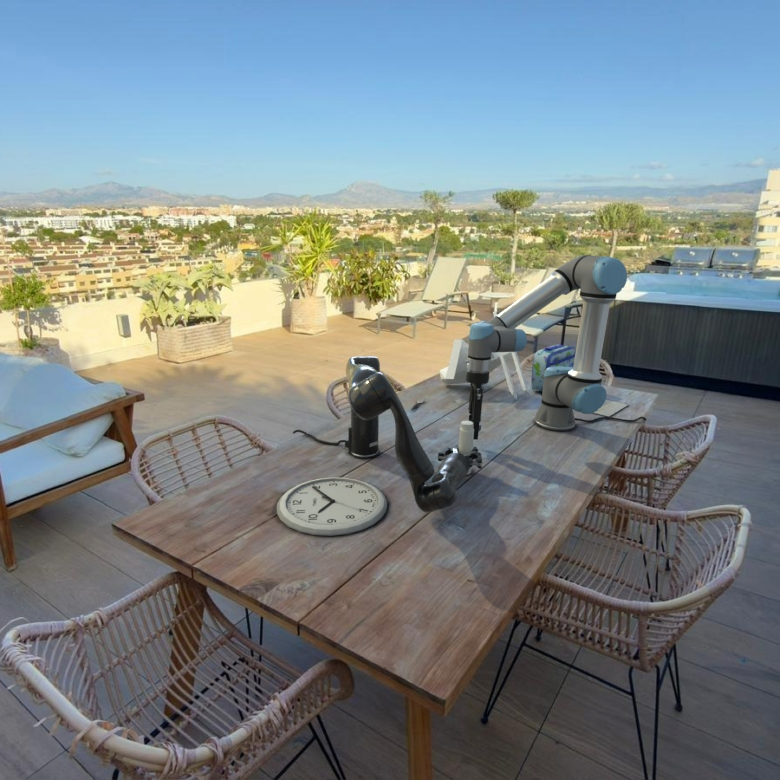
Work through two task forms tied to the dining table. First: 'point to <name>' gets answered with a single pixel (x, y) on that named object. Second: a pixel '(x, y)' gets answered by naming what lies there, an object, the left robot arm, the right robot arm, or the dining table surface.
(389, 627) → the dining table surface
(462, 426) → the off-white long cylinder
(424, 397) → the fork
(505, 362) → the white plastic object
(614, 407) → the invitation card
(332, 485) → the wall clock
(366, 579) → the dining table surface
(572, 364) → the lunch box
